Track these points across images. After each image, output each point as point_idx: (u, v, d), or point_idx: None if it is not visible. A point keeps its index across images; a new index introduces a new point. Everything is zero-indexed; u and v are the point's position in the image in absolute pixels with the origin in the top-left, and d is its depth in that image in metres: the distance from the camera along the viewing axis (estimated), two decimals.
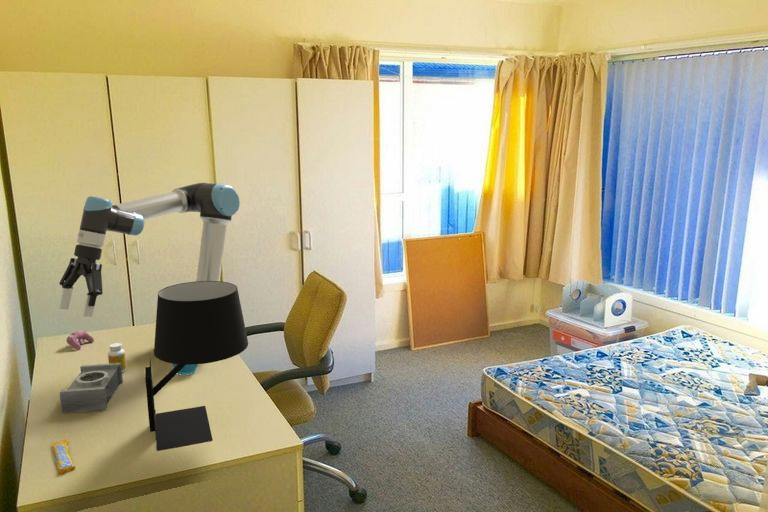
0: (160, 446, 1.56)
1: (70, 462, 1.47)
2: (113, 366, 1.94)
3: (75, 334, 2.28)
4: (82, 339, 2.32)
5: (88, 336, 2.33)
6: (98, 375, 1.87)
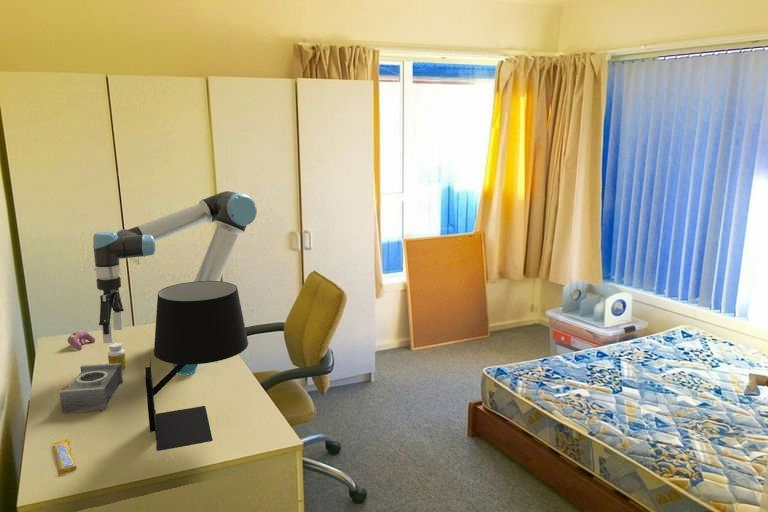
0: (160, 446, 1.56)
1: (72, 462, 1.48)
2: (113, 366, 1.94)
3: (76, 334, 2.28)
4: (83, 339, 2.32)
5: (89, 336, 2.33)
6: (98, 375, 1.87)
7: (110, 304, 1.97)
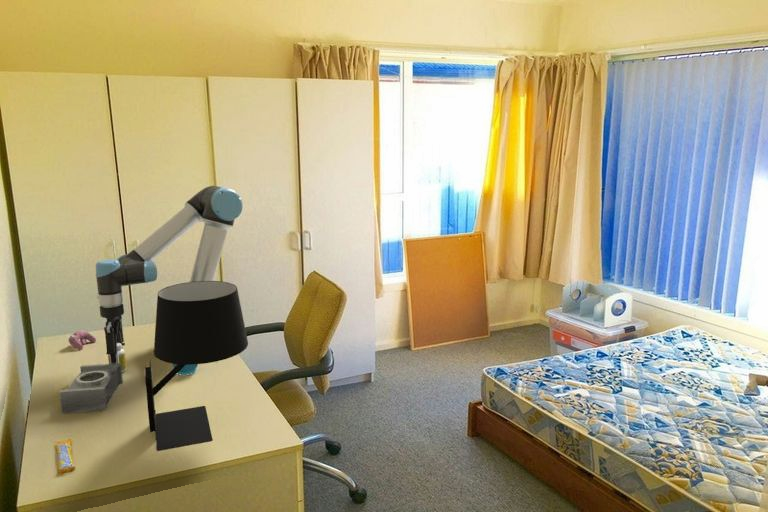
0: (160, 446, 1.56)
1: (71, 463, 1.47)
2: (113, 366, 1.94)
3: (77, 334, 2.28)
4: (84, 339, 2.32)
5: (90, 336, 2.33)
6: (98, 375, 1.87)
7: (114, 333, 2.01)
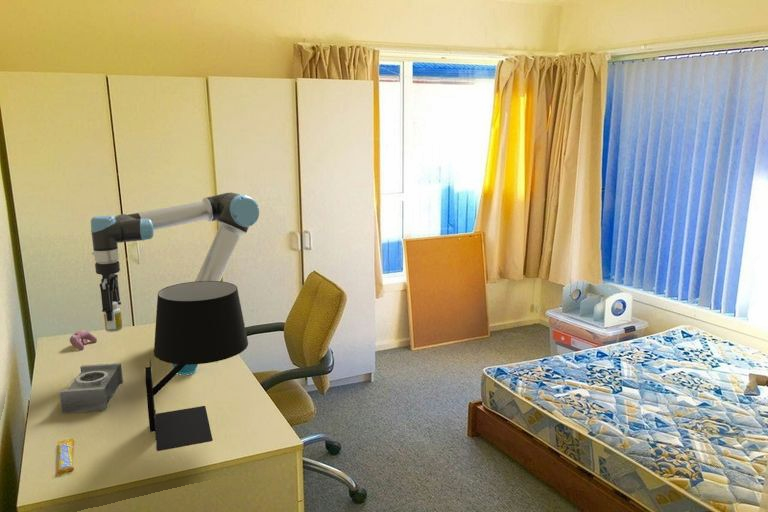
0: (160, 446, 1.56)
1: (70, 463, 1.47)
2: (113, 366, 1.94)
3: (78, 334, 2.28)
4: (85, 339, 2.32)
5: (91, 336, 2.33)
6: (98, 375, 1.87)
7: (110, 290, 1.98)
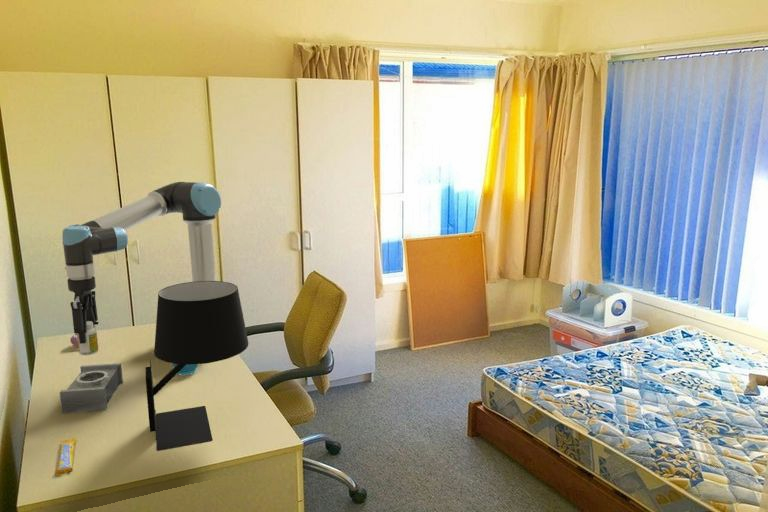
0: (160, 446, 1.56)
1: (70, 463, 1.47)
2: (113, 366, 1.94)
3: None
4: None
5: None
6: (98, 375, 1.87)
7: (84, 309, 1.77)
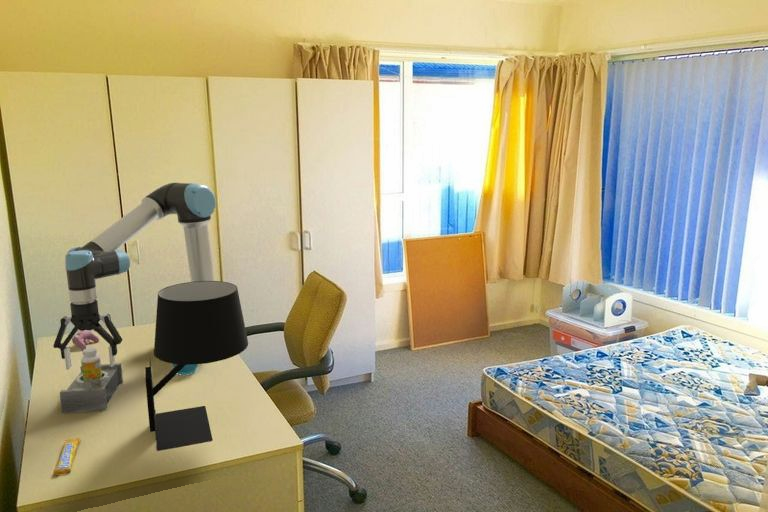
0: (160, 446, 1.56)
1: (69, 464, 1.47)
2: (113, 366, 1.94)
3: (80, 334, 2.28)
4: (87, 339, 2.32)
5: (93, 336, 2.33)
6: None
7: (72, 329, 1.79)
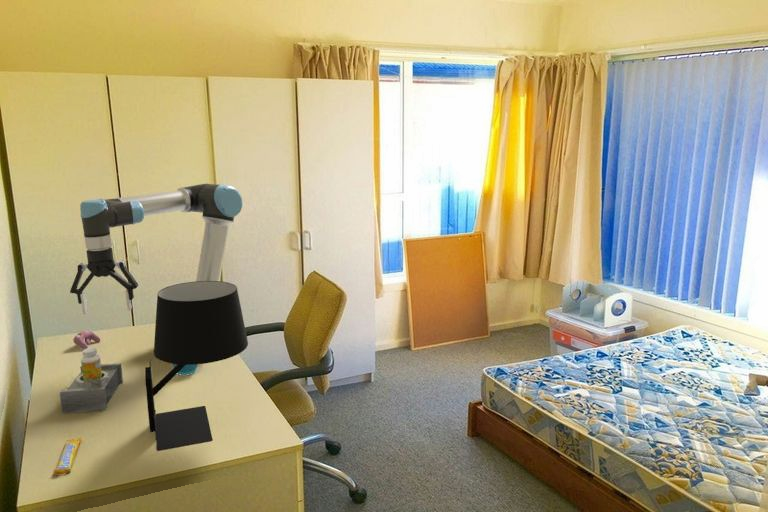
0: (160, 446, 1.56)
1: (69, 464, 1.47)
2: (113, 366, 1.94)
3: (82, 334, 2.28)
4: (89, 339, 2.32)
5: (94, 336, 2.33)
6: None
7: None
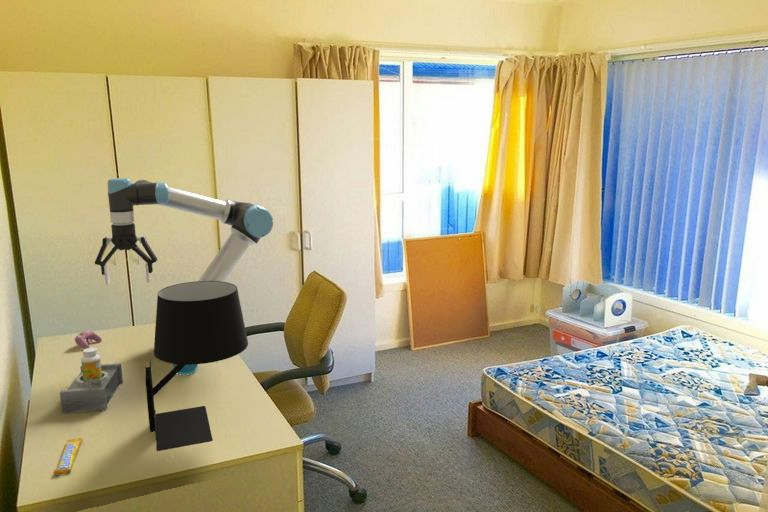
0: (160, 446, 1.56)
1: (69, 464, 1.47)
2: (113, 366, 1.94)
3: (83, 334, 2.28)
4: (90, 339, 2.32)
5: (96, 336, 2.34)
6: None
7: (112, 248, 2.01)
